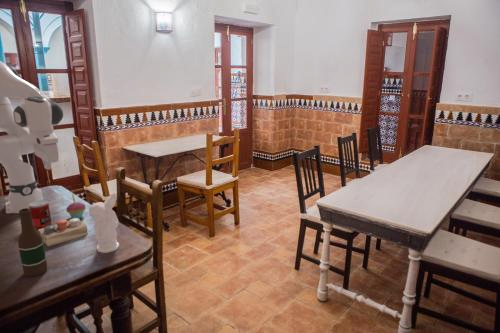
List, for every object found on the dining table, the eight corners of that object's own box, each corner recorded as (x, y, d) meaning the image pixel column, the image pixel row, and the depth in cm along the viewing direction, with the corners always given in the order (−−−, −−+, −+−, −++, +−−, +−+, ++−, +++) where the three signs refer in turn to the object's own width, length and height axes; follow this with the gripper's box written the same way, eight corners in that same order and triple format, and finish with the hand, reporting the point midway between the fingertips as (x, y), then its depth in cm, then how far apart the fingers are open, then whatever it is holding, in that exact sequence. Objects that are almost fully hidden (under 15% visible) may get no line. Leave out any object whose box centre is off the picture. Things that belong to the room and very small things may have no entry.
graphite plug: (44, 239, 153) (42, 227, 152) (55, 236, 156) (53, 224, 155) (47, 242, 150) (45, 230, 149) (58, 239, 153) (56, 227, 152)
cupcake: (64, 217, 176) (61, 194, 173) (82, 211, 182) (79, 189, 179) (72, 222, 171) (68, 198, 167) (89, 216, 177) (86, 193, 173)
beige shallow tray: (39, 238, 155) (38, 229, 154) (78, 226, 166) (76, 218, 165) (48, 246, 148) (46, 238, 147) (87, 234, 159) (86, 225, 157)
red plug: (56, 233, 156) (54, 221, 155) (66, 230, 159) (65, 218, 158) (60, 236, 154) (58, 224, 152) (70, 233, 156) (68, 221, 155)
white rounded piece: (69, 231, 160) (67, 220, 159) (78, 228, 163) (77, 217, 161) (72, 234, 157) (70, 223, 156) (82, 231, 160) (80, 220, 159)
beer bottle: (30, 266, 134) (18, 205, 127) (52, 265, 134) (41, 205, 128) (19, 278, 126) (6, 214, 120) (42, 276, 127) (30, 213, 120)
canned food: (43, 229, 163) (39, 206, 160) (28, 228, 165) (24, 205, 162) (55, 222, 170) (52, 200, 167) (41, 221, 172) (37, 199, 169)
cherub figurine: (100, 257, 140) (91, 204, 134) (86, 246, 148) (77, 196, 142) (128, 245, 149) (122, 195, 142) (113, 236, 157) (107, 188, 150)
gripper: (26, 134, 155) (32, 165, 158) (42, 141, 141) (47, 175, 145) (42, 132, 159) (48, 162, 163) (59, 139, 145) (64, 172, 149)
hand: (48, 168), depth 154 cm, fingers closed
